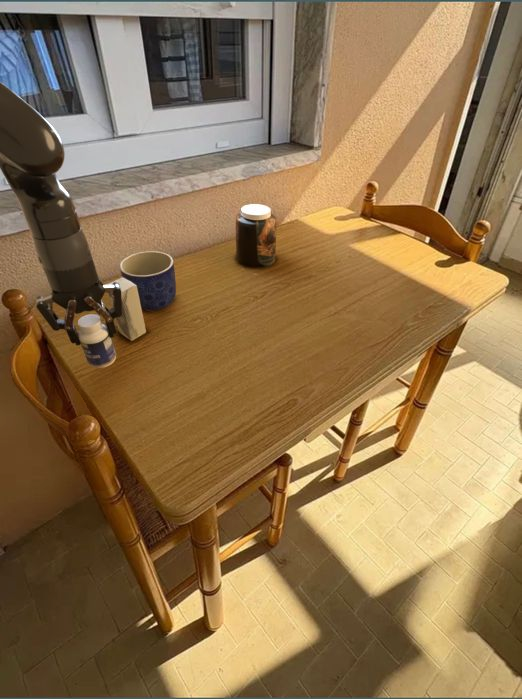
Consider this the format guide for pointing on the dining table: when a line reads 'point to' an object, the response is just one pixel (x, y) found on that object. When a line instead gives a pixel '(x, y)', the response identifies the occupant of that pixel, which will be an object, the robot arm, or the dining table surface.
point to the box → (129, 310)
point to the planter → (151, 278)
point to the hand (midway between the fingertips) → (95, 338)
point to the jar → (255, 236)
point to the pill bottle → (96, 341)
